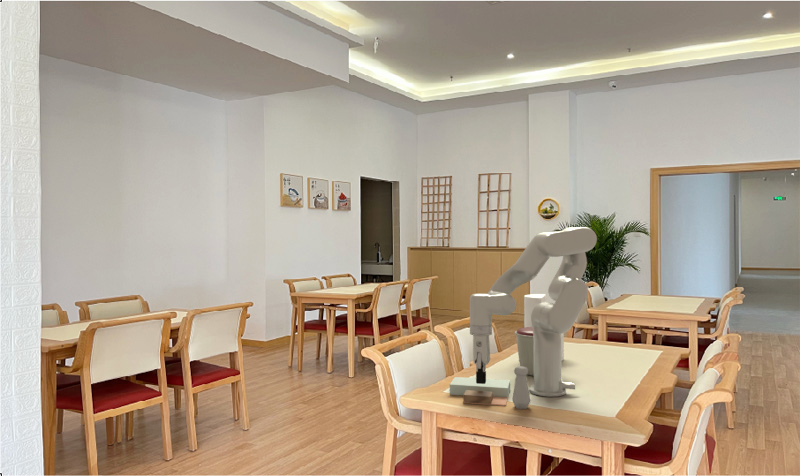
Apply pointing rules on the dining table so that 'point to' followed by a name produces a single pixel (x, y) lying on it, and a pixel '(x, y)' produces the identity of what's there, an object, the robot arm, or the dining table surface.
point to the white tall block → (529, 304)
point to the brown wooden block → (478, 397)
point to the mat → (495, 401)
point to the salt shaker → (521, 388)
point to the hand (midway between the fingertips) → (481, 383)
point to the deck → (480, 386)
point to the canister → (526, 348)
